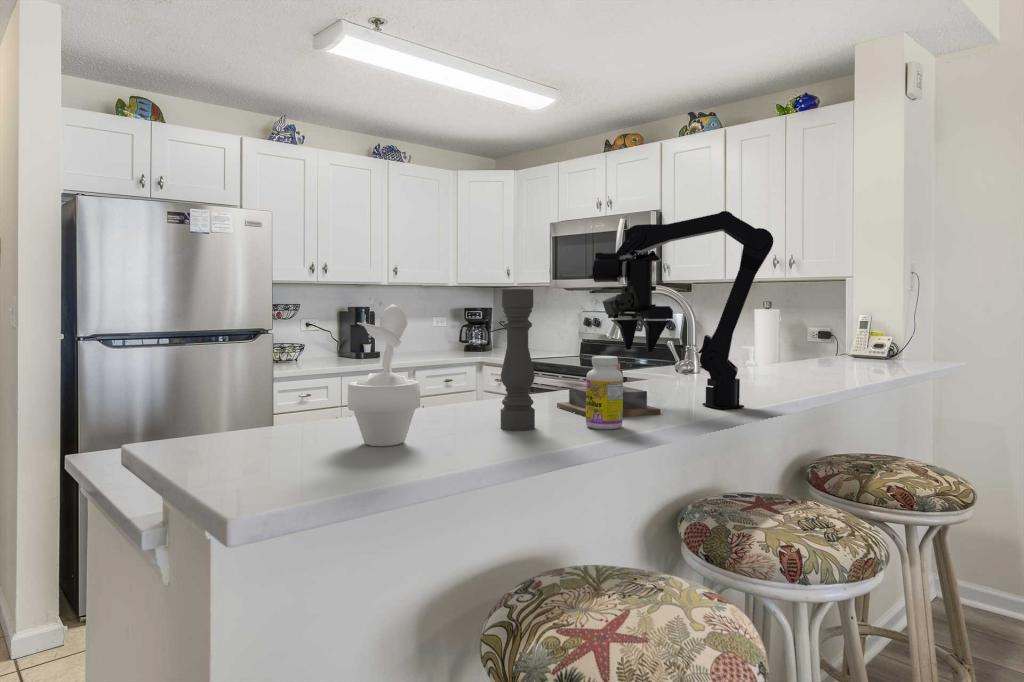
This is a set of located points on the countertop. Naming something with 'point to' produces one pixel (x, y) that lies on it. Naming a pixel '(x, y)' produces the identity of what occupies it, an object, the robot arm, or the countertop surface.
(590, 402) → the supplement bottle
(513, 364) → the candle holder
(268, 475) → the countertop surface
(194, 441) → the countertop surface
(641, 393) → the socket
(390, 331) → the potted plant
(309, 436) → the countertop surface
